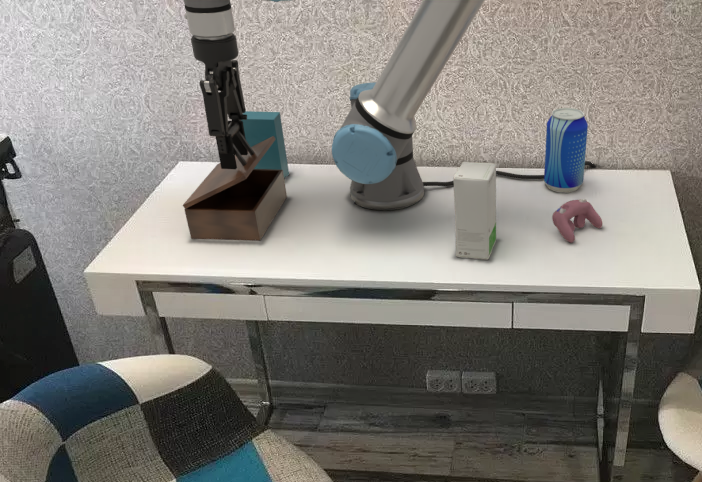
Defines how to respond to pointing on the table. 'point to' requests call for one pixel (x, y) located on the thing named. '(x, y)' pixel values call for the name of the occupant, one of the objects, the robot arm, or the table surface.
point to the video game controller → (575, 217)
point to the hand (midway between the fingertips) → (234, 160)
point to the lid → (230, 177)
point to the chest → (239, 208)
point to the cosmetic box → (475, 209)
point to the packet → (263, 128)
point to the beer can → (565, 150)
